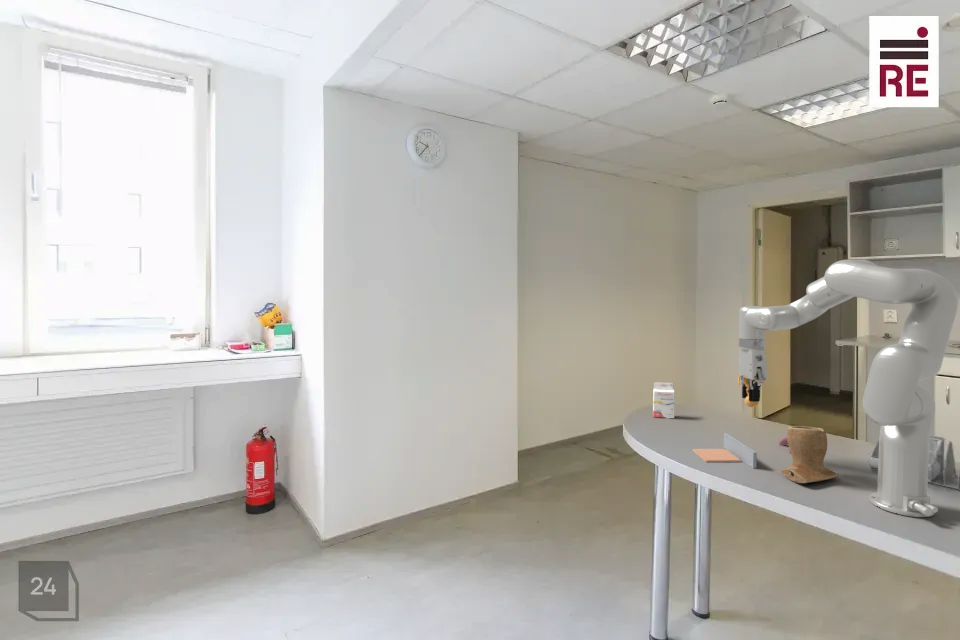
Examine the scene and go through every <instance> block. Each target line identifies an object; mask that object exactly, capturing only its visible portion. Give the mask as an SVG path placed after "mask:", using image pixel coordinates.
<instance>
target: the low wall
mask: <svg viewBox="0 0 960 640" xmlns="http://www.w3.org/2000/svg"><path fill="white" fill-rule="evenodd" d="M725 448H726V450H728V451H729V452H730V453H733V455H735V456H736V457H737V458H740V460H741V462H744V463H745V464H747V466H749V467H750V466H751V468H752V469H757V457H758V455H757V451H755V450H754V449H752V448H750V447H749V446H747V445H746V444H744V443H743V442H741V441H739V440H738V439H737V438H735V437H733V436H732V435H730V434H729V433H727V432H724V433H723V449H725Z"/></svg>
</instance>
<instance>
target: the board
mask: <svg viewBox="0 0 960 640" xmlns="http://www.w3.org/2000/svg"><path fill="white" fill-rule="evenodd" d="M692 452H694V453H695V454H696V455H697V456H698V457H699V458H701V459H702V460H703V461H704V462H706V463H742V460H741V459H739V458H738V457H737V456H735V455H734V454H732V453H731V452H730V451H728V450H727V449H725V448H692Z"/></svg>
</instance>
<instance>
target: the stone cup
mask: <svg viewBox="0 0 960 640" xmlns="http://www.w3.org/2000/svg"><path fill="white" fill-rule="evenodd" d="M786 436H787V441H788V447H789V449H790V450H791V453H790V454H791V457H792V464H791V465H789V466H788V467H785V468H781V469H780V472H781V473H782V474H783V475H784V476H785V477H786V478H787V479H788V480H790V481H792V482H794V483H795V484H796V483H797V484H808V483H815V482H822V481H825V480H831V479H834V478H837V477H838V476H839V473H837V472H835V471H833V470H831V469H828V468H827V467H825V465H824V461H825V457H826V454H827V452H828V437H827V432H826V430H825V429H824V428H821V427H815V426H808V425H807V426H806V425H792V426H789V427H787V432H786Z"/></svg>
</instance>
